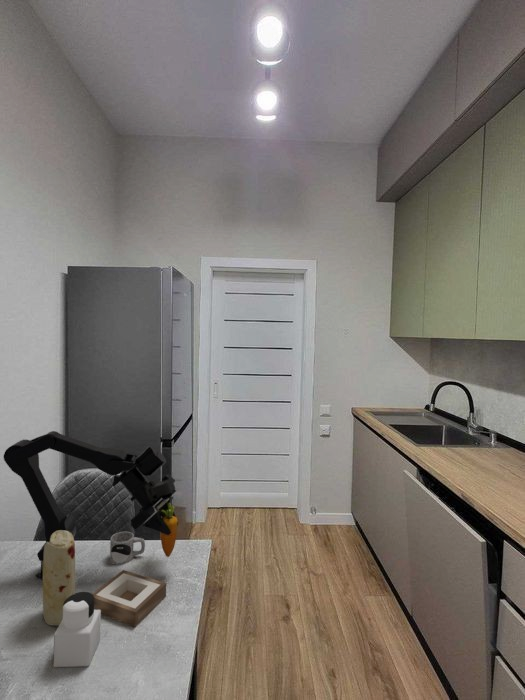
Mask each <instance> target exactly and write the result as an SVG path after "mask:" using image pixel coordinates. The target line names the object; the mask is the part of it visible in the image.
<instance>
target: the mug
mask: <svg viewBox="0 0 525 700" xmlns="http://www.w3.org/2000/svg"><path fill="white" fill-rule="evenodd" d="M134 535H135V534H134V533H132V532H131V531H120V532H116V533H114V534H112V535H111V536H110V542H109V543H110V544H109V545H110V546H109V551H110V552H109V562H110V563H111V564H113V565H117V566H118V565H119V566H121V565H125V564H128V563H130V562H132V560H133V559H134V557H136V556H139V555H141V554H143V553H144V552H145V547H146V541H145V539H144V538H142V537H136V536H135V537H134ZM134 543H140V544H141V549H140V550H134Z"/></svg>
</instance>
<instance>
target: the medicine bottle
mask: <svg viewBox="0 0 525 700" xmlns="http://www.w3.org/2000/svg"><path fill="white" fill-rule="evenodd" d="M92 594H93V593H91V592H88V591H79V592H74V594H73V595H71V596H69V597H68V598H67V599H66V600H65V602H64V603H63V620H62V622H61V623H60V625H59V626H57V629H56V630H55V632H54V634H53V667H54V668H70V667H71V668H73V667H77V668H78V667H90V665H91V662H92V661H93V658H94V656H95V653H96V650H97V649H98V646H99V644H100V641H101V625H102V623H101V620H102V619H101V617H102V615H101V610H94V596H93V595H92Z"/></svg>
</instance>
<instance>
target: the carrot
mask: <svg viewBox="0 0 525 700" xmlns="http://www.w3.org/2000/svg"><path fill="white" fill-rule="evenodd" d="M168 509H169V510H166V511H167V512H166V511H165V510H161V512H163V513H164V514H165V515H166V517H162V519H163V520H164V522H165V523H166V525H167V526H168V528H169V529H170V531H171V534H169V535H166V534H164V533H161V532H160V542H161V548H162V551H163V553H164V555H165V557H166V558H169V557H170V556H171V555H172V552H173V551H174V549H175V544H176V541H177V534H178V525H177V521H178V517H177V516H176V517H174V516H172V514H173V512H174V513H175V506H173V505H172V507H171V503H168ZM178 522H179V521H178Z"/></svg>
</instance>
